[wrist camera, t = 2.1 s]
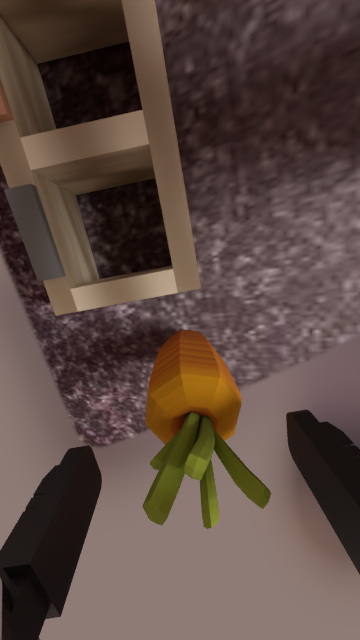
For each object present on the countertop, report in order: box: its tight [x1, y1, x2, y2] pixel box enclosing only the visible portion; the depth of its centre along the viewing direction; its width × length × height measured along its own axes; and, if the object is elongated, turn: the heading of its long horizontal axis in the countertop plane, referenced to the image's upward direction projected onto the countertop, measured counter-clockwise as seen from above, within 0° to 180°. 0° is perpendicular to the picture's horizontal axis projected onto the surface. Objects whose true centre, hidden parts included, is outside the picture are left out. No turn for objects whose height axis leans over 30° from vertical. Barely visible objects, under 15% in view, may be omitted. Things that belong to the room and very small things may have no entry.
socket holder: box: [0, 0, 201, 316], centre depth 14 cm, size 10×18×6 cm, turn 11°
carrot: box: [143, 329, 271, 529], centre depth 14 cm, size 5×5×15 cm
